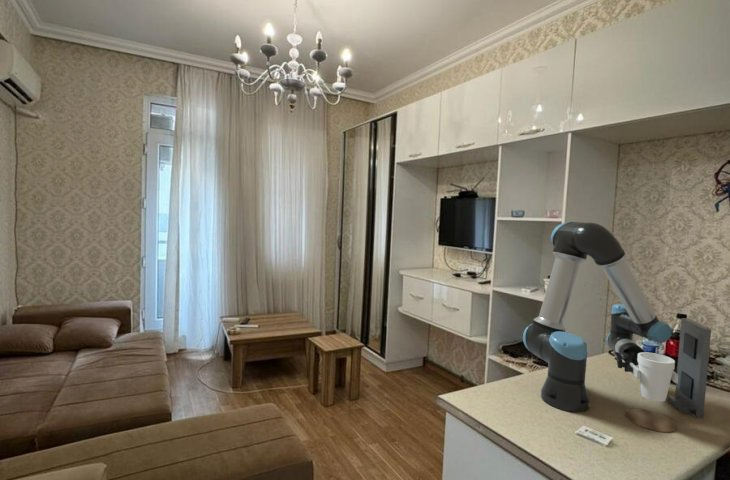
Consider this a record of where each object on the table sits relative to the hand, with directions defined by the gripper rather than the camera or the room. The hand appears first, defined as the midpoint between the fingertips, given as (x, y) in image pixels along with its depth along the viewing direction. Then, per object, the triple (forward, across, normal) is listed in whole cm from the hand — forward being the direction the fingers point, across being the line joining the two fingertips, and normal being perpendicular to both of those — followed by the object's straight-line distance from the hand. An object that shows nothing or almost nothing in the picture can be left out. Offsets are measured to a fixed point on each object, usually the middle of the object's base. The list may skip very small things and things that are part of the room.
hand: (657, 376), depth 119 cm
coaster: (-2, 0, -16) cm, 16 cm away
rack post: (-17, -15, -16) cm, 27 cm away
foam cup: (-2, 0, -8) cm, 8 cm away
